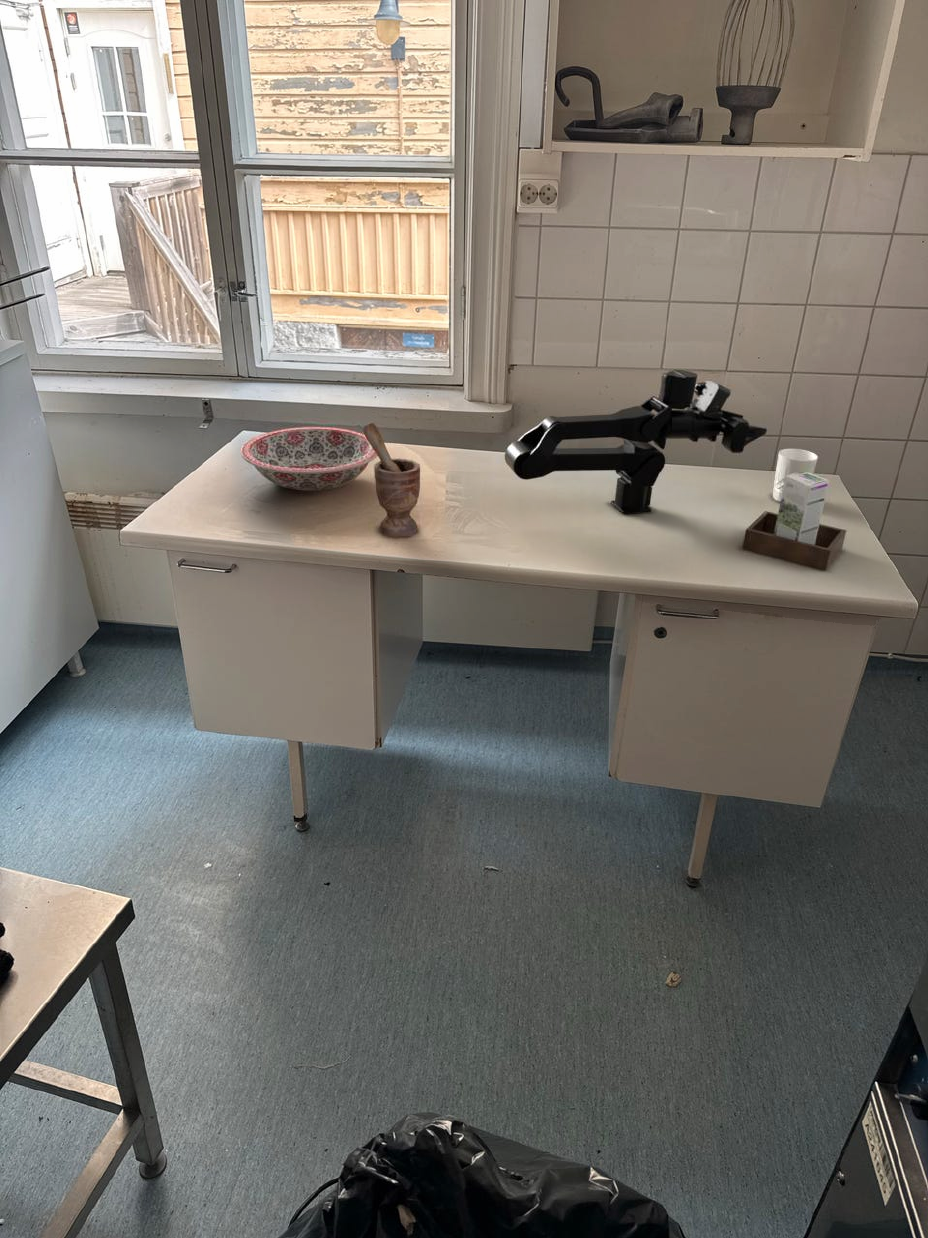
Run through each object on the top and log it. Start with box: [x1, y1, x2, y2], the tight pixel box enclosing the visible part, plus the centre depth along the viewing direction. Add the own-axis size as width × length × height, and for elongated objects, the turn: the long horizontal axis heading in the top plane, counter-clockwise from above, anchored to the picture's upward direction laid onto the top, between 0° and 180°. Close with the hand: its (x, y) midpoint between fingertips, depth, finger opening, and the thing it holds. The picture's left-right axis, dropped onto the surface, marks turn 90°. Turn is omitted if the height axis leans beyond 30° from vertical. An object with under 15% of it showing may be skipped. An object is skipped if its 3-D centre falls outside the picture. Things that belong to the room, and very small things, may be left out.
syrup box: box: [773, 471, 830, 545], centre depth 169 cm, size 6×6×14 cm
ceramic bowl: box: [240, 426, 378, 492], centre depth 193 cm, size 29×29×8 cm
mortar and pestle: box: [362, 422, 421, 537], centre depth 170 cm, size 12×9×20 cm
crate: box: [741, 510, 847, 571], centre depth 171 cm, size 16×12×4 cm
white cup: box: [772, 448, 819, 503], centre depth 193 cm, size 8×8×10 cm
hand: (754, 424), depth 186 cm, fingers open, 9 cm apart
